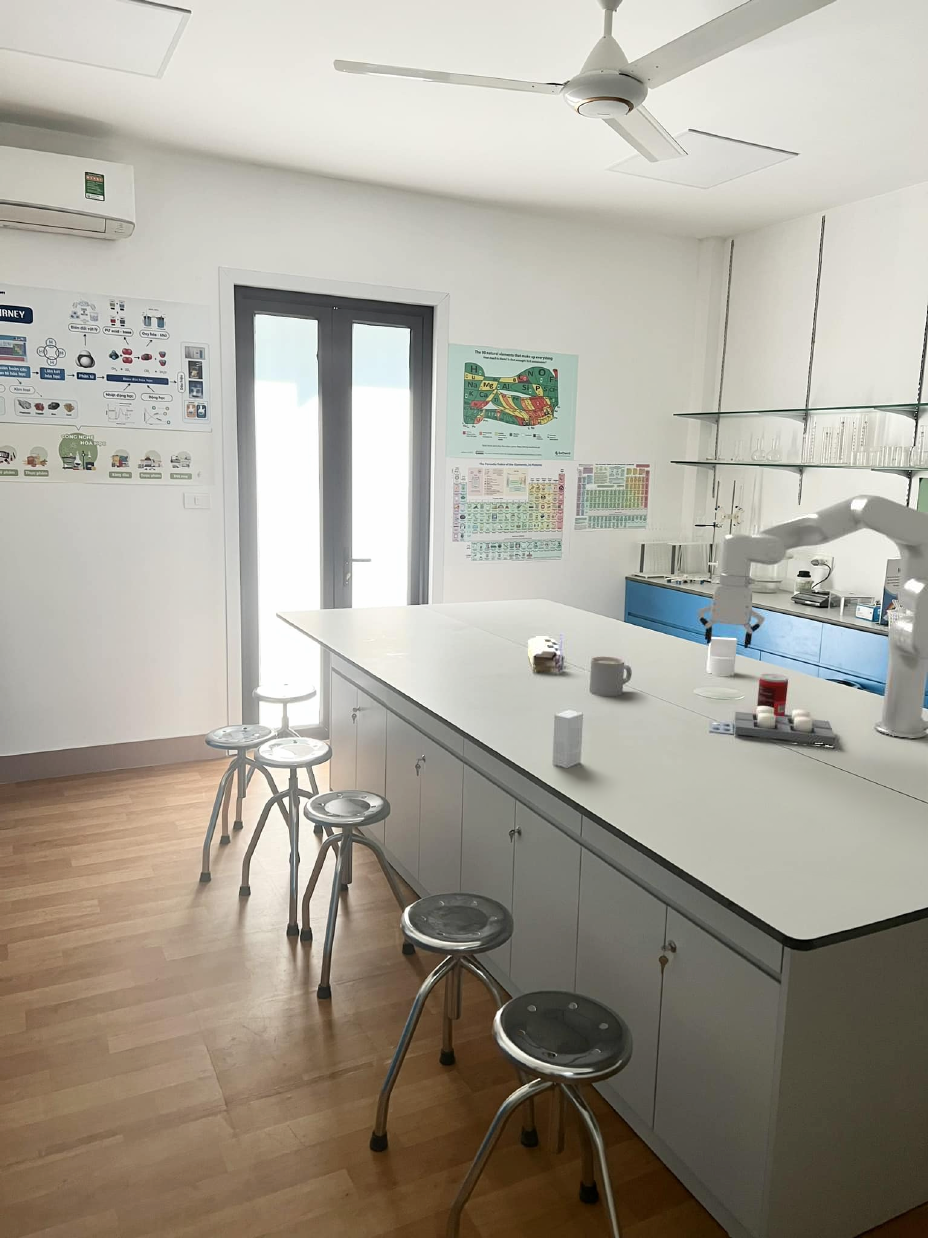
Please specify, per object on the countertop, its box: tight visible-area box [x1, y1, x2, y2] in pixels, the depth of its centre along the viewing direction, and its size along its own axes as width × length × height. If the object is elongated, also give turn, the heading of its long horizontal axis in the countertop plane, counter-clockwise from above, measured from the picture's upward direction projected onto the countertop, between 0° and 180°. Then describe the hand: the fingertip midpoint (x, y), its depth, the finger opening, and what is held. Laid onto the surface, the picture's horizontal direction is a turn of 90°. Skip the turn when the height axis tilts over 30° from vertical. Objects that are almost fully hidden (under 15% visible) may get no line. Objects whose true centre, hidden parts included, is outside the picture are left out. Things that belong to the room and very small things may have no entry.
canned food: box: [756, 673, 789, 716], centre depth 257 cm, size 8×8×11 cm
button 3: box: [791, 709, 811, 723], centre depth 240 cm, size 4×4×3 cm
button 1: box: [755, 706, 774, 719], centre depth 242 cm, size 4×4×3 cm
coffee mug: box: [589, 656, 633, 697], centre depth 276 cm, size 13×10×10 cm
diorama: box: [527, 633, 565, 674], centre depth 309 cm, size 25×10×13 cm, turn 0°
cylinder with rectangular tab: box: [706, 636, 738, 676], centre depth 306 cm, size 9×9×12 cm
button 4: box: [793, 717, 814, 733], centre depth 233 cm, size 4×4×3 cm
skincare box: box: [552, 709, 584, 769], centre depth 209 cm, size 6×4×12 cm
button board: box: [708, 711, 836, 746], centre depth 239 cm, size 30×15×3 cm, turn 74°
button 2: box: [757, 713, 776, 729], centre depth 235 cm, size 4×4×3 cm
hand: (727, 645), depth 241 cm, fingers open, 9 cm apart
